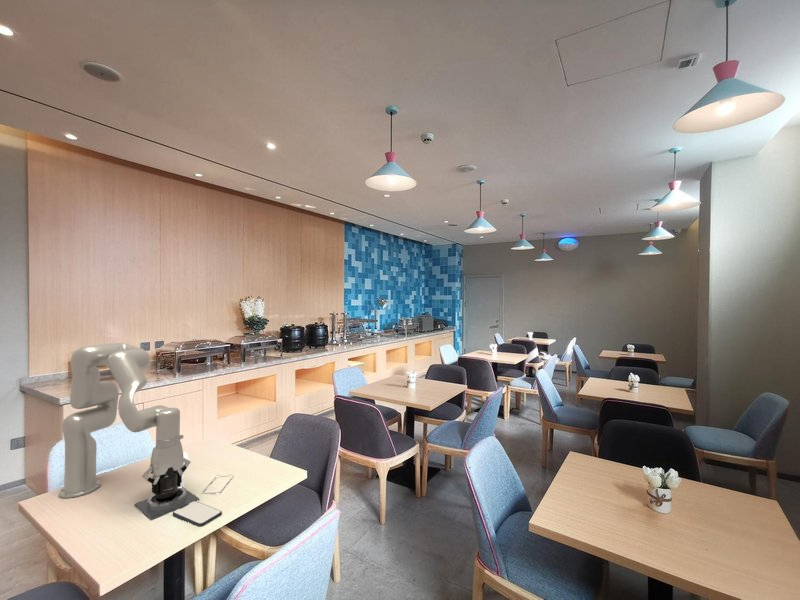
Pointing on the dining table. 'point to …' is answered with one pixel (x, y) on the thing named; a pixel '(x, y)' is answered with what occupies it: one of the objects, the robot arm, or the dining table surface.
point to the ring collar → (165, 504)
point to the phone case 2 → (214, 492)
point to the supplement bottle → (167, 486)
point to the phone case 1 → (197, 513)
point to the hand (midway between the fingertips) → (167, 489)
